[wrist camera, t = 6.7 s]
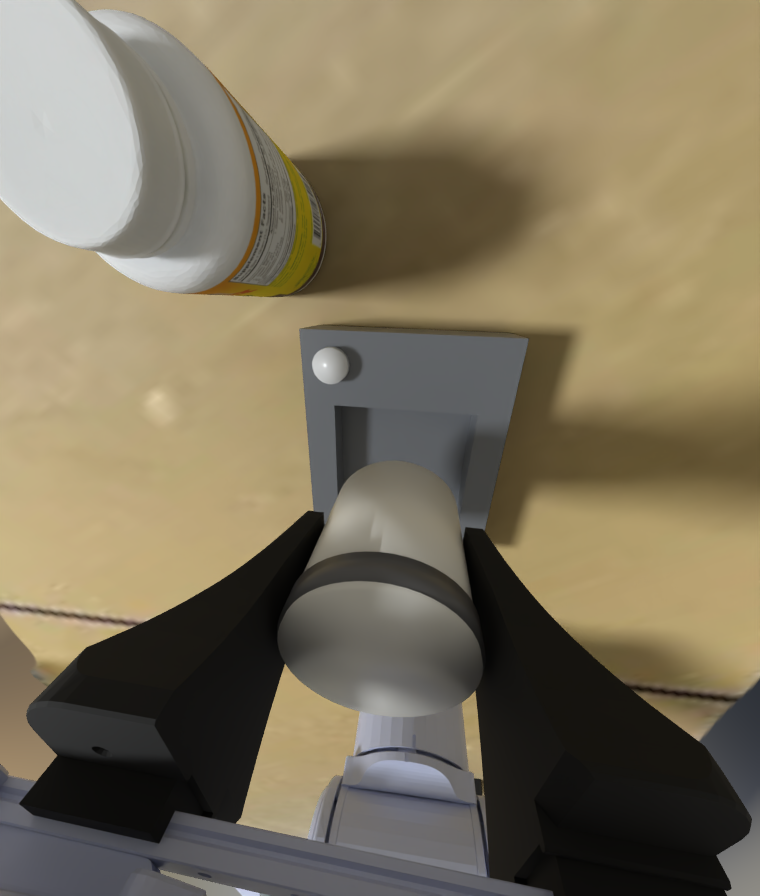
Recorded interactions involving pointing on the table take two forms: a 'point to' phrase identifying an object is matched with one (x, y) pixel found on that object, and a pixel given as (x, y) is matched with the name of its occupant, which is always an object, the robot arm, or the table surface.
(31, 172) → the supplement bottle
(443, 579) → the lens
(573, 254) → the table surface
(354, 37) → the table surface
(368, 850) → the robot arm
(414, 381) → the grey panel with knob
